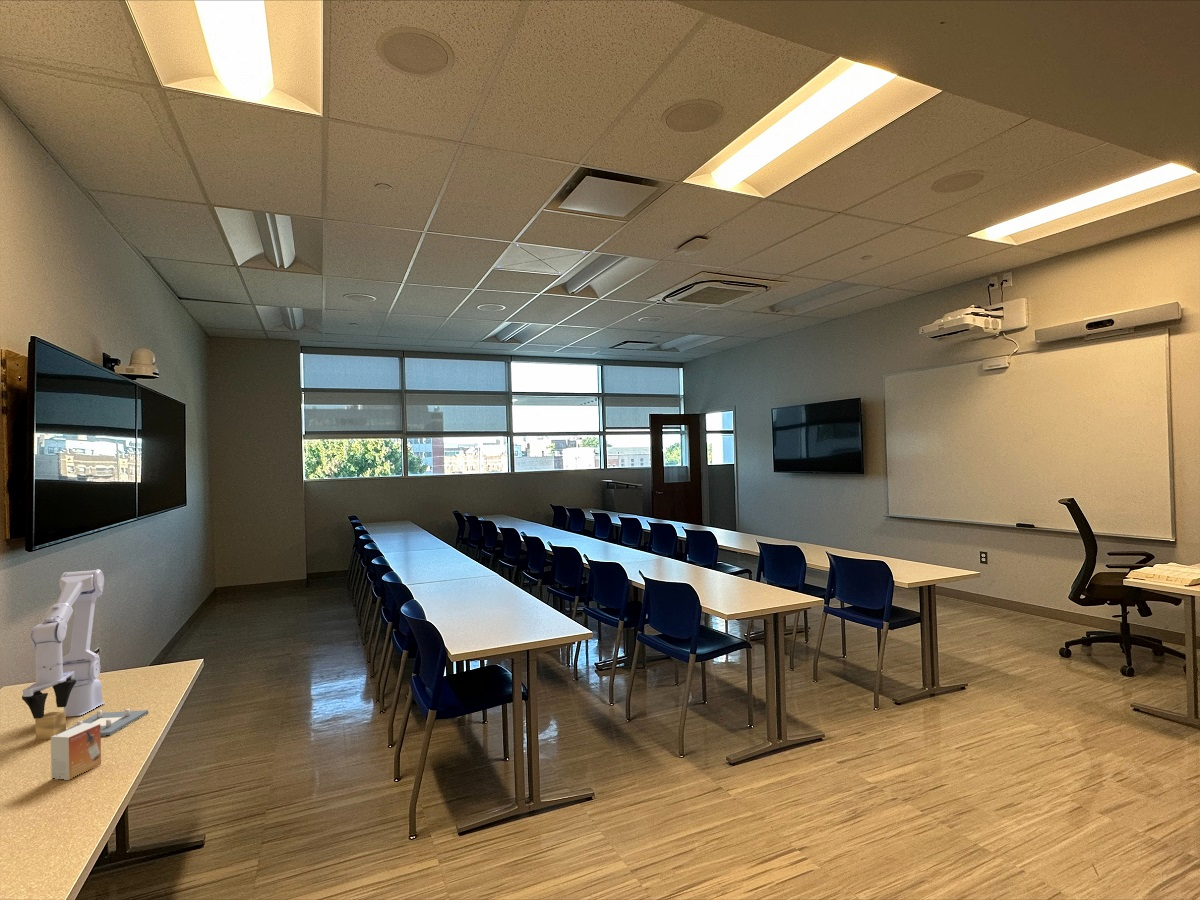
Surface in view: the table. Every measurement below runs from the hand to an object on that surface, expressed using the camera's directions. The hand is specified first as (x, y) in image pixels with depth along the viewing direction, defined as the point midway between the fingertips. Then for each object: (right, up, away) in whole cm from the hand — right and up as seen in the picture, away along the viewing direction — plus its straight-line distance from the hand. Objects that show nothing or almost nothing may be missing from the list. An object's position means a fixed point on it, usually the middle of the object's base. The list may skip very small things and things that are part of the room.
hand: (50, 712), depth 171 cm
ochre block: (0, -7, 0) cm, 7 cm away
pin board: (+11, -6, +5) cm, 14 cm away
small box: (+27, -6, -22) cm, 35 cm away
